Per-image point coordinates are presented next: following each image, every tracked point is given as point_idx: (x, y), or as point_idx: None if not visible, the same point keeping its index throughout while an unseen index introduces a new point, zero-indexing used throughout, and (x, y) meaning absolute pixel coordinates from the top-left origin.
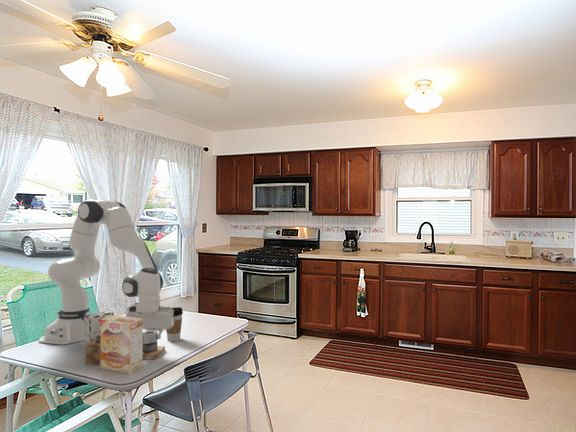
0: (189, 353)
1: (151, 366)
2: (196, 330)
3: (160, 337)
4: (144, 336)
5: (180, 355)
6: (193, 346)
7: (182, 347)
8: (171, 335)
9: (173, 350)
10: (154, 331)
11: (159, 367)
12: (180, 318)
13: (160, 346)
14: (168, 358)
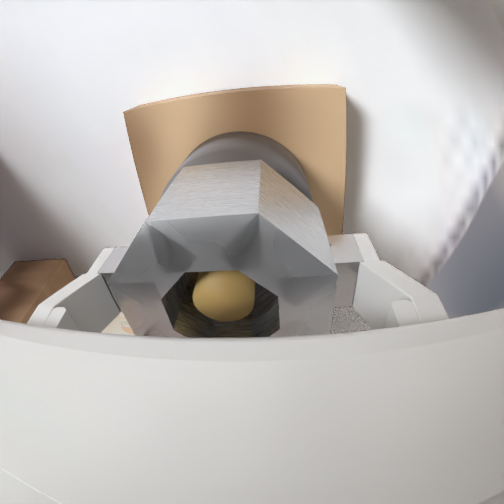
0: (501, 151)
1: (333, 326)
2: None
3: (366, 240)
4: None
5: (461, 182)
6: (498, 22)
7: (443, 23)
8: None
9: (401, 80)
10: (275, 266)
11: (373, 329)
12: None
13: (304, 98)
14: (401, 231)
